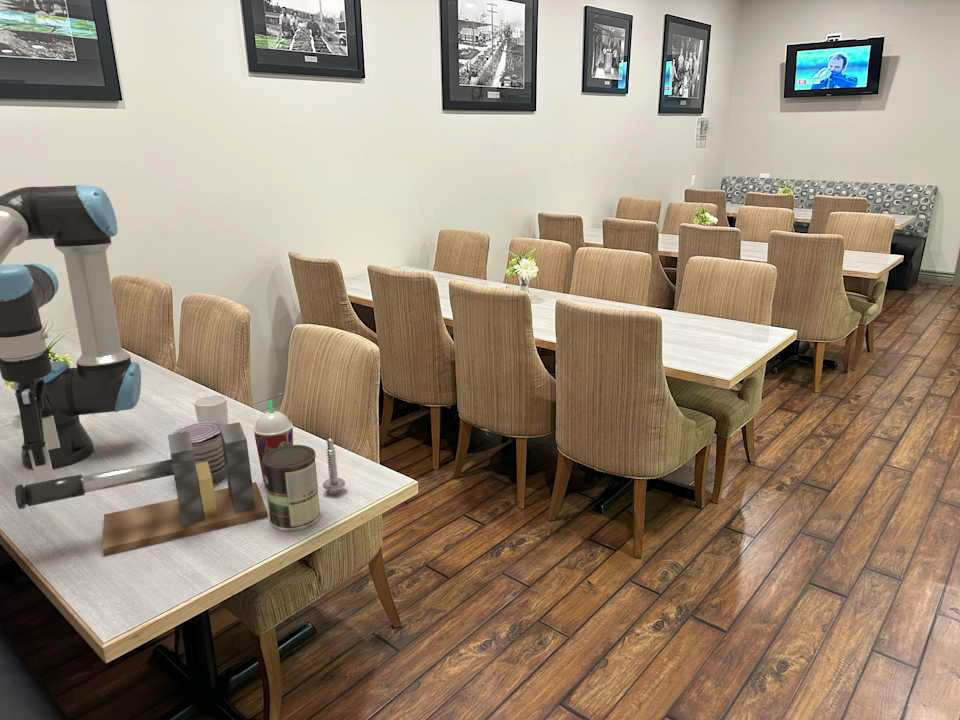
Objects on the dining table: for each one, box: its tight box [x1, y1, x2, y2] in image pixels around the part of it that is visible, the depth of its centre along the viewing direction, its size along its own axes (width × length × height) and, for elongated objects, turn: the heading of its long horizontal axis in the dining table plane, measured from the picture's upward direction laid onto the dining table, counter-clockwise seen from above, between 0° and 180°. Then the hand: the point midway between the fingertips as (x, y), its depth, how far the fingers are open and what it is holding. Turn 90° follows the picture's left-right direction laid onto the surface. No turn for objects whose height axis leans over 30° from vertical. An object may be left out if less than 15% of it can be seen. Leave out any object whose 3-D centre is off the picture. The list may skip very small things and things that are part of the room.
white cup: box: [193, 394, 229, 425], centre depth 179 cm, size 8×8×10 cm
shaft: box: [14, 458, 174, 510], centre depth 131 cm, size 28×4×4 cm, turn 116°
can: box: [172, 420, 227, 486], centre depth 156 cm, size 11×11×12 cm
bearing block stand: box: [101, 421, 269, 557], centre depth 138 cm, size 30×14×17 cm, turn 116°
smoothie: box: [252, 399, 294, 483], centre depth 152 cm, size 8×8×20 cm
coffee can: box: [262, 444, 321, 532], centre depth 138 cm, size 10×10×14 cm
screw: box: [322, 437, 346, 496], centre depth 148 cm, size 13×5×5 cm
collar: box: [195, 461, 217, 518], centre depth 140 cm, size 2×8×8 cm, turn 26°
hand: (48, 463), depth 127 cm, fingers open, 13 cm apart
